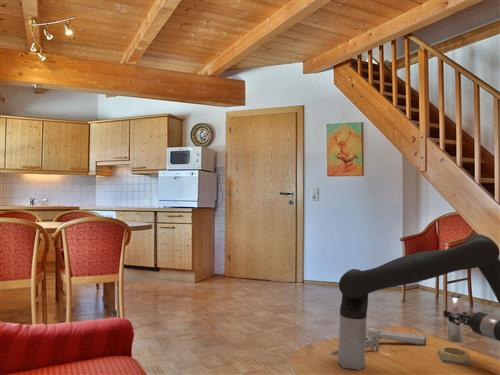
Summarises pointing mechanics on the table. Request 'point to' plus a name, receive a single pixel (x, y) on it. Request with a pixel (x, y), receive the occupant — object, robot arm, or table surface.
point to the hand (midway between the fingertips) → (450, 312)
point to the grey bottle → (455, 307)
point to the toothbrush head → (396, 336)
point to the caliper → (368, 343)
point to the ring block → (454, 355)
